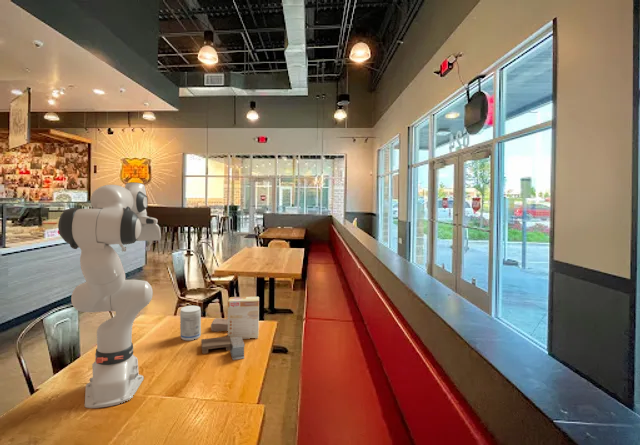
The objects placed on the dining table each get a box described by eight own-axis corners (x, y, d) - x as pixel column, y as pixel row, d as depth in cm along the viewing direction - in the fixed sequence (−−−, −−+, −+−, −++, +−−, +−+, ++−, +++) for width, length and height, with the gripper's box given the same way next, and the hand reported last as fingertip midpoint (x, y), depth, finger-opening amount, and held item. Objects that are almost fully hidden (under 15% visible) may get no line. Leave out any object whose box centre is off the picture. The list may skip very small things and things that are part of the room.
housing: (244, 358, 154) (244, 344, 154) (232, 360, 152) (232, 345, 152) (241, 350, 163) (241, 336, 162) (230, 351, 161) (230, 337, 160)
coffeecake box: (258, 333, 182) (259, 296, 181) (258, 338, 175) (258, 300, 174) (229, 333, 180) (229, 296, 179) (227, 339, 173) (227, 300, 172)
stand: (232, 349, 162) (232, 343, 162) (202, 353, 157) (202, 347, 157) (229, 342, 170) (229, 336, 170) (201, 345, 166) (201, 339, 165)
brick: (245, 326, 192) (245, 318, 191) (242, 332, 183) (242, 323, 183) (214, 326, 191) (214, 317, 191) (210, 332, 183) (210, 323, 182)
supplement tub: (182, 333, 179) (182, 305, 178) (202, 333, 180) (202, 304, 179) (178, 341, 169) (178, 311, 168) (198, 340, 171) (198, 311, 170)
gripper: (107, 220, 148) (107, 252, 149) (160, 220, 156) (160, 251, 157) (109, 219, 154) (110, 250, 155) (161, 219, 162) (161, 249, 163)
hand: (136, 250), depth 156 cm, fingers open, 8 cm apart
